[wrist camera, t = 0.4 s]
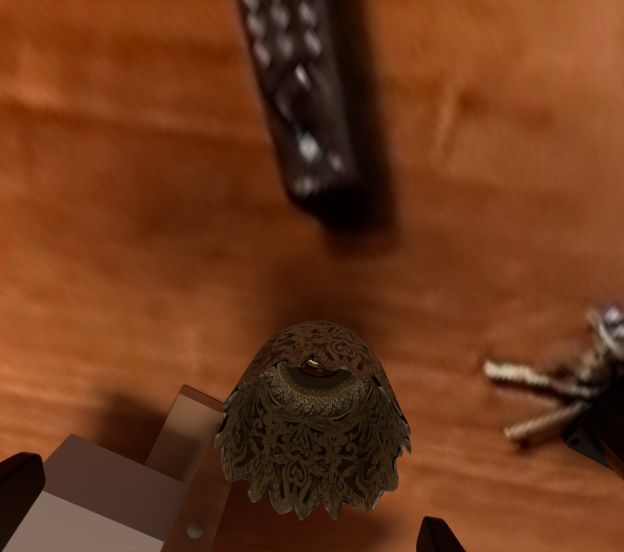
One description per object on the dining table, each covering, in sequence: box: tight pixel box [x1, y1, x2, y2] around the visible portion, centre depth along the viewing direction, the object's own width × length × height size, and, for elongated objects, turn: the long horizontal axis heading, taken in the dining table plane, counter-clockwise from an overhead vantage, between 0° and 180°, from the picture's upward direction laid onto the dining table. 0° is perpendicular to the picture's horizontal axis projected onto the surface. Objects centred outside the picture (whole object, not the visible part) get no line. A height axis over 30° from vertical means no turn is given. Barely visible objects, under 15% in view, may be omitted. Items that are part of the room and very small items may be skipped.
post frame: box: [144, 386, 233, 552], centre depth 21 cm, size 5×18×8 cm, turn 152°
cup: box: [214, 320, 411, 521], centre depth 17 cm, size 8×7×8 cm
